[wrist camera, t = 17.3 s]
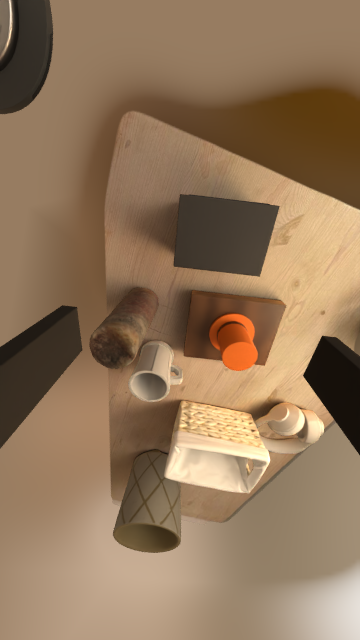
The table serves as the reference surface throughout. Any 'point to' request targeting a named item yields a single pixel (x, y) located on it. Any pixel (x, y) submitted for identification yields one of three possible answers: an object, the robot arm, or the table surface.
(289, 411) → the headphones
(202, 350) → the brown wooden board
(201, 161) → the table surface
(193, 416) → the basket
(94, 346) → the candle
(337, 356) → the robot arm
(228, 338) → the hat
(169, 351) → the cup
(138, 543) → the planter
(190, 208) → the television
